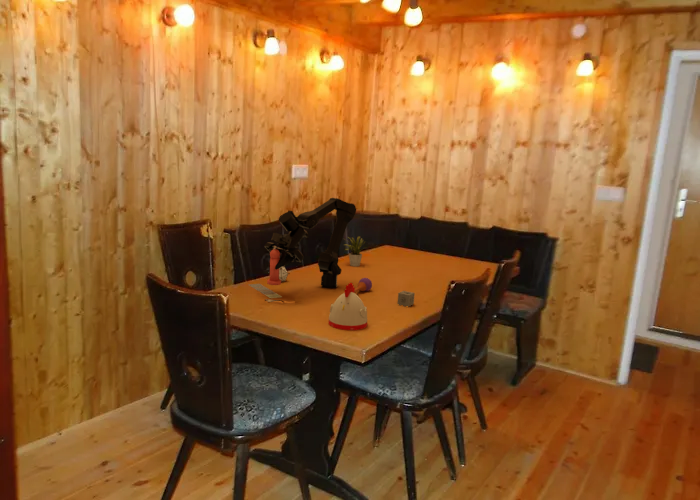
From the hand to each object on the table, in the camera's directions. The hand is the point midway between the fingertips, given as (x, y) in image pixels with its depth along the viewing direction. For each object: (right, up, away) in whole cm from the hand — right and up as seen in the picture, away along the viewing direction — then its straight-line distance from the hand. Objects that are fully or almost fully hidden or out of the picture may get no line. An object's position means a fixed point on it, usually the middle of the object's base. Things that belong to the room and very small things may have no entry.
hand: (272, 268), depth 227 cm
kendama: (+35, -12, +18) cm, 41 cm away
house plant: (+34, -1, +78) cm, 85 cm away
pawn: (+1, -6, +2) cm, 7 cm away
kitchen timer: (+31, -19, -25) cm, 44 cm away
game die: (-1, -8, +29) cm, 30 cm away
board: (-5, -11, +11) cm, 16 cm away
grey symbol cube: (+54, -15, +5) cm, 57 cm away
